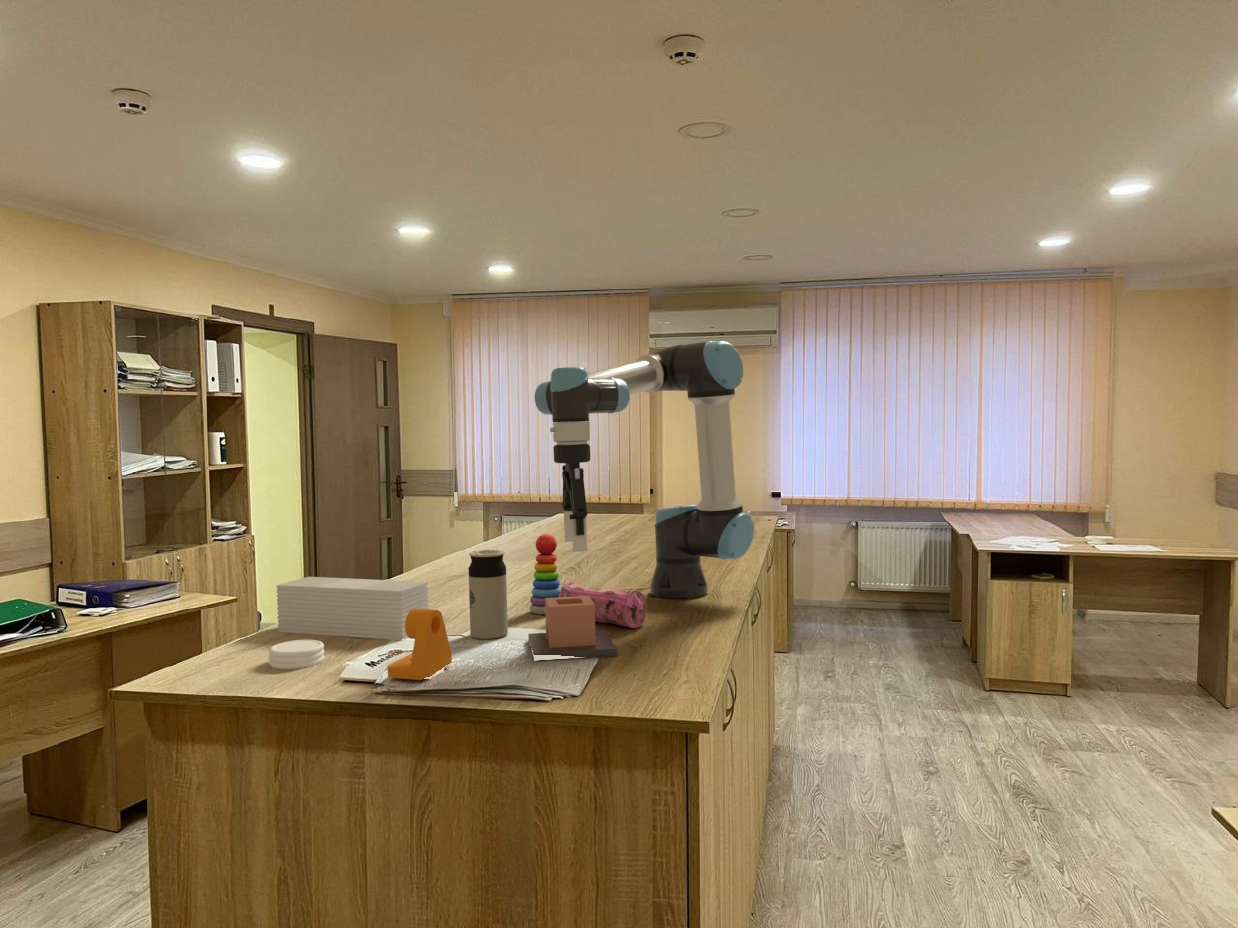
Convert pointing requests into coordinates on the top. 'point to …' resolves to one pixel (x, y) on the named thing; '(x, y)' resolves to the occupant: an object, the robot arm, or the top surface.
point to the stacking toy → (545, 574)
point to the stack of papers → (349, 606)
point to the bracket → (423, 646)
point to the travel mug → (488, 594)
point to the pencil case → (612, 604)
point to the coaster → (296, 654)
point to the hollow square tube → (570, 621)
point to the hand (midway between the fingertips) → (575, 546)
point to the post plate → (601, 648)
